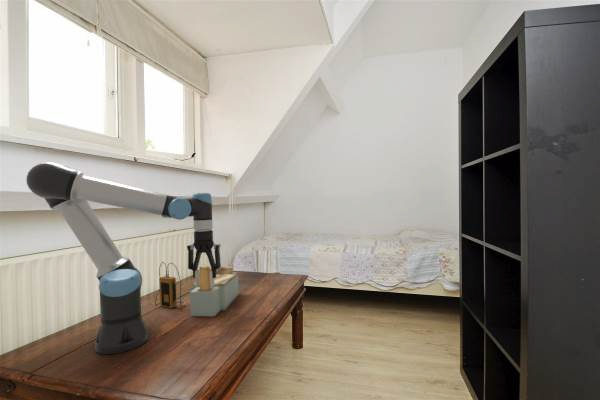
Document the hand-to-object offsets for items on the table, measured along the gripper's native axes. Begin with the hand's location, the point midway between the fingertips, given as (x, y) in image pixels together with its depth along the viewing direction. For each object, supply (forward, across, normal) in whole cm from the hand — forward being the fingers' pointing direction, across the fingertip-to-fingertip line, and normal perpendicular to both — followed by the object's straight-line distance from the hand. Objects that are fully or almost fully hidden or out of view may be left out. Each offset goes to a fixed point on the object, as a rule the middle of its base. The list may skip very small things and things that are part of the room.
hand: (205, 285), depth 126 cm
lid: (+1, 0, -13) cm, 14 cm away
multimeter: (+12, +19, -10) cm, 25 cm away
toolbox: (+11, 0, -10) cm, 15 cm away
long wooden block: (+8, 0, 0) cm, 8 cm away
